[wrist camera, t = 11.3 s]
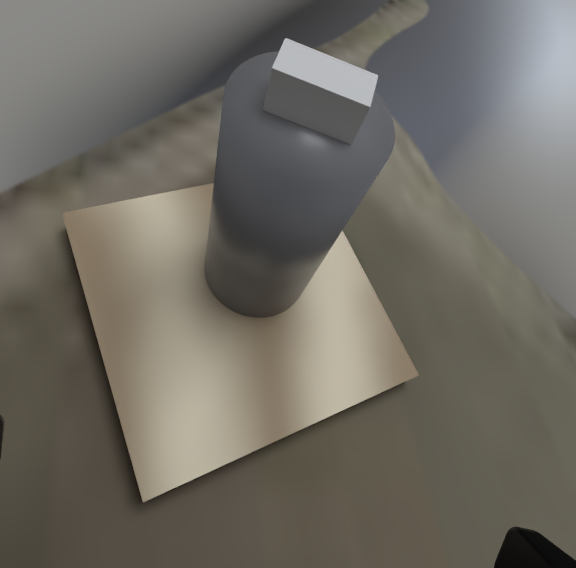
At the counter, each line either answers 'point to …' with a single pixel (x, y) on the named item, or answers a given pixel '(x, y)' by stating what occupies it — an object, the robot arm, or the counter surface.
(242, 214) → the white-capped grey cylinder
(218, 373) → the birch board
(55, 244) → the counter surface
